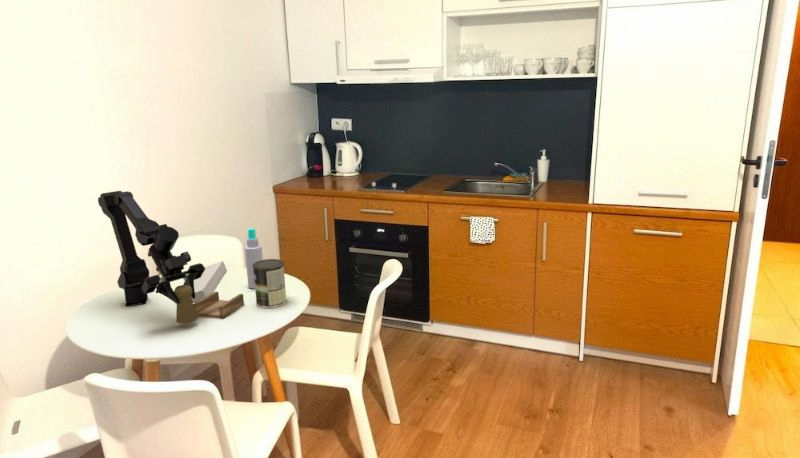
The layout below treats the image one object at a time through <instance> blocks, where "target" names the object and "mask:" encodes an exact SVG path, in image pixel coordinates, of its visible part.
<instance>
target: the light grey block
mask: <svg viewBox="0 0 800 458" xmlns="http://www.w3.org/2000/svg"><path fill="white" fill-rule="evenodd" d="M204 267H205V271H204V272H203V274H202V276H201V277H200V278H199V279H196V280H194V290H195V299H193V298H192V297H191V298H192V302H193V303H194V302H195V303H196V302H198V301H200V300H201V299H203V298H205V297H207V296H208V295H210V294H212V293H214V292H215V290H216V288H217V287H218V285H219V284H220V283H221V281H222V279H223V278H224V276H225V275H226V273H227V271H228V269H227V268H226V264H225V262H224V260H223V261H222V260H221V261H219V262H215V263H213V264H210V265H205V266H204ZM224 274H225V275H224ZM222 277H223V278H222ZM220 280H221V281H220ZM218 283H219V284H218Z"/></svg>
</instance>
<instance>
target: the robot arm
mask: <svg viewBox="0 0 800 458" xmlns="http://www.w3.org/2000/svg"><path fill="white" fill-rule="evenodd" d="M97 203H98V205H99V207H100V208H101V211H102V213H103V215H105V216H106V217H108V219H109V220H110V222H111V226H112V229H113V232H114V236H115V239H116V242H117V245H118V246H117V247H118V250H119V252H120V255H121V256H120V257H121V260H122V261H121V264H120V266H119V272H120V275H119V277H118V279H117V281H116V282H117V285H118V288H119V289H122V290H123V292H124V298H125V307H129V306H136V305H143V304H146V303H147V301H148V299H149V295H148V294H151V293H154V292H155V294H160V295H162V296H164V297H166V298H168V299H169V300H170V301H172V302H173V303H175V304H176V305H177V304H179V300H178V298H177V296H176V294H175V293H174V289H173V288H172V285H171V283H172V282H175V281H178V280H181V279H182V280H183V281H184V282H183V284H182V285H189V286H190V287H191V288H192V294H191V297H192V298H193V299H195V290H194V280H196V279H199V278H200V277H201V276H202V274H203V272H204V271H205V267H206V266H204V264H203V263H201V262H198V263H196V264H191V265H189V267H188V268H187V270H184V269H185V267H184V266H186V265H188V263H190V262H191V261H192V257H191V255H190V253H189V251H187V250H186V251H184V252H182V253H180V255H177V256H176V255H173V253H172V250H173V248H174V247H175V245H176V243H177V241H178V239H179V236H180V235H179V232H178V230H176V229H175V228H174V227H172V226H168V225H167V223H164V224H159V223H158V222H157V221H156V220H153V219H150V218H149V217H148V215H146V213H145V212H144V210H143V209H142V208H141V206H140V205H139V204H138V203H137V201H136V199H135V198H134V194H133V193H132V192H131V191H127V190H126V191H122V190H114V191H108V192H103V193H101V194H100V196H99V197H98V199H97ZM127 219H128V220H129V221H130V223H131V225H133V227H134V229H135V235H134V236H135V237H136V241H137V242H138V244H140V246H141V247H142V246H143V247H144V246H145V247H146V246H150V247H149V248H148V252H147V257H149V258H151V259H152V261H153V262H154V264H155V266H156V268H155V270H156V272H159V273H160V275H161V277H160V275H158V274H155V275H151V276H150V270H149V268H148V267H147V263H146V260H145V259H143V258H141V257H140V256H138V253H137V250H136V247H135V244H134V240H133V236H132V232H131V229H130V226H129V224H128V223H129V222H128V220H127ZM183 270H184V271H183Z"/></svg>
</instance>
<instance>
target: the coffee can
mask: <svg viewBox="0 0 800 458" xmlns="http://www.w3.org/2000/svg"><path fill="white" fill-rule="evenodd" d="M252 266H253V272H254V283H255V289H254V291H255V305H256V306H257V307H258V308H261V309H274V308H279V307H282V306H284V305H285V304H286V303H287V301H288V300H287V293H286V292H287V291H286V280H285V279H286V278H285V262H284V260H282V259H278V258H277V259H276V258H268V259H267V258H266V259H263V260H261V261H257V262H255V263H254V264H253V265H252Z"/></svg>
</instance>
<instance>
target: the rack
mask: <svg viewBox="0 0 800 458" xmlns="http://www.w3.org/2000/svg"><path fill="white" fill-rule="evenodd" d="M219 294H220V293H219V291H213V293H212V294H210V295H208V296H207V297H205V298H203V299H201V300H200V301H198V302H195V303H194V302H193V305H194V309H195V313H196V316H197V317H204V318H210V319H211V318H212V319H221V320H223V319H225V318H227V317H229V316H231V315H232V314H234V312H236V311H238V310H239V309H240V307H241V308H243V307H244V306H245V301H244V300H245V299H244V294H243V293H239V294H237V295H236V296H234V297H232V298H231V299H229V300H223V299H220V296H219ZM243 305H244V306H243Z"/></svg>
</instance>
